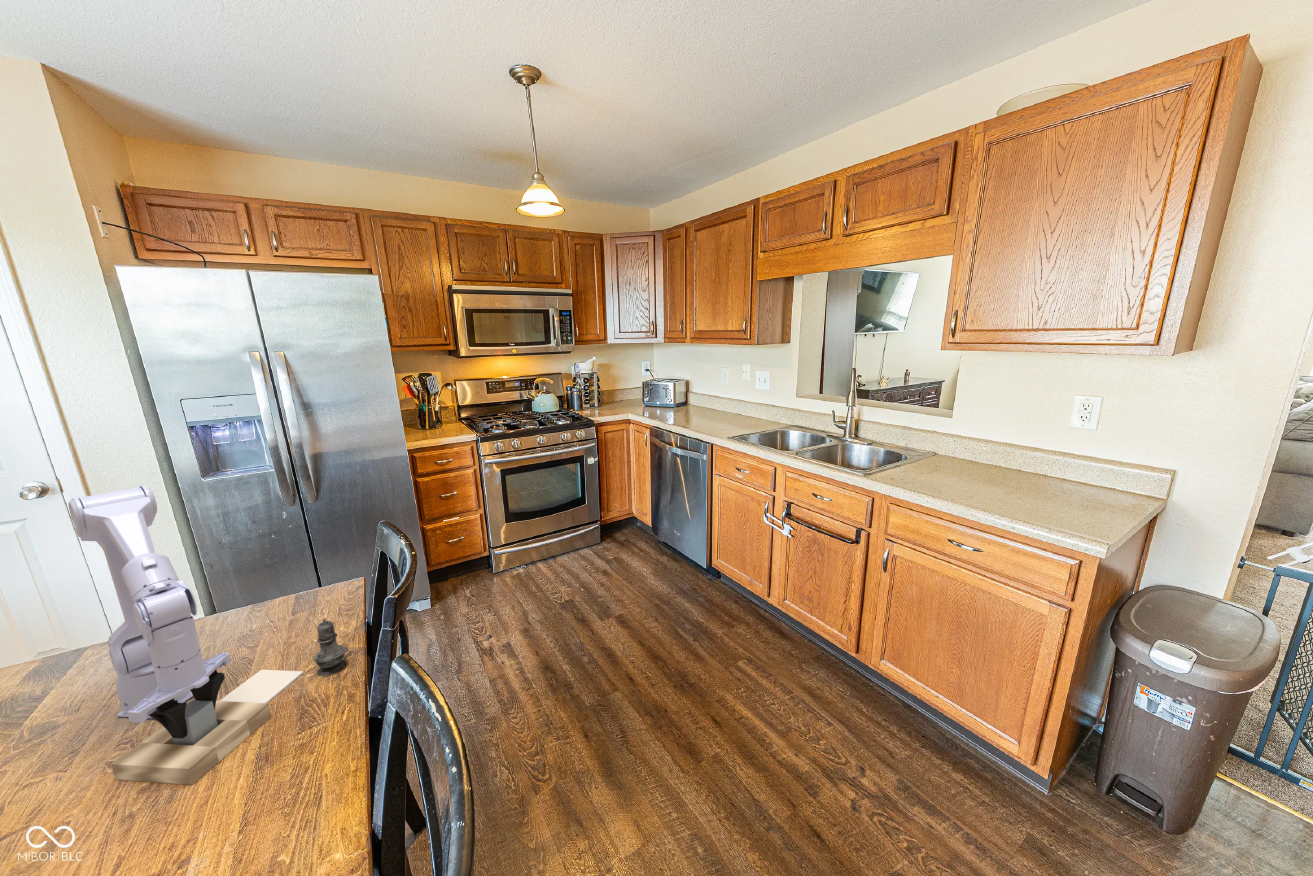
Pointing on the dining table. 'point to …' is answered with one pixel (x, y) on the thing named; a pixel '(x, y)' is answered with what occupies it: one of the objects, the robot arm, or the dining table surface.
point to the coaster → (263, 686)
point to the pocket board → (191, 747)
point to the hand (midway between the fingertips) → (194, 726)
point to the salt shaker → (329, 650)
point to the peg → (197, 722)
